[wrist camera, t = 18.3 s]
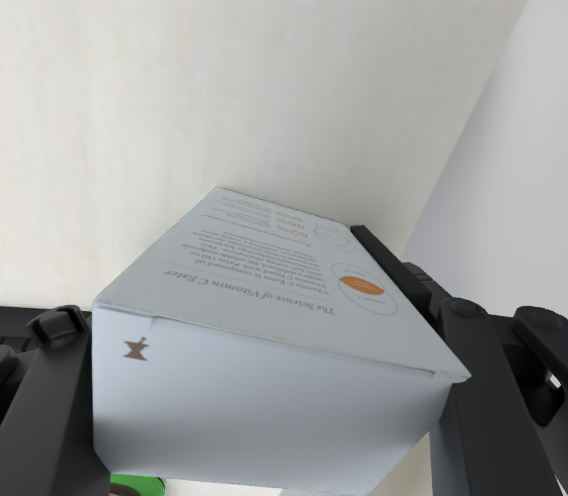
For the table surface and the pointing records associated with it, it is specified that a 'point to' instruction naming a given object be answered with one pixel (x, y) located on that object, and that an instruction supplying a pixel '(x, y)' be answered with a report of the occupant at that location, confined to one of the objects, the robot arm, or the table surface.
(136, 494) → the multicoloured stacked piece
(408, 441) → the small box
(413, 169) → the table surface
